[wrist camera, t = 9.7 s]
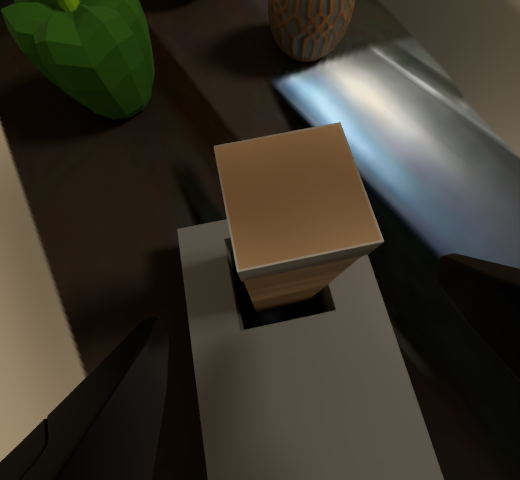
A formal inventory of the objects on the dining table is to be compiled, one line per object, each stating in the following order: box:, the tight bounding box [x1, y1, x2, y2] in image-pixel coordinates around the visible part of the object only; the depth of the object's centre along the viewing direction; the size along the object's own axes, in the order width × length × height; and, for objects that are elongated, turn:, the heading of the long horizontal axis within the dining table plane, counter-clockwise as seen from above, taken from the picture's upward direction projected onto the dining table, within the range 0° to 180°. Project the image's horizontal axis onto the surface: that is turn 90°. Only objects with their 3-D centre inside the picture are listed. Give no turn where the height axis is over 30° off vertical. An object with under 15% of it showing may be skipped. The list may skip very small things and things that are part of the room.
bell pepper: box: [1, 0, 155, 120], centre depth 20 cm, size 8×8×10 cm
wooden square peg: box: [214, 122, 384, 312], centre depth 14 cm, size 4×4×13 cm
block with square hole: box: [177, 219, 444, 480], centre depth 17 cm, size 16×11×3 cm
